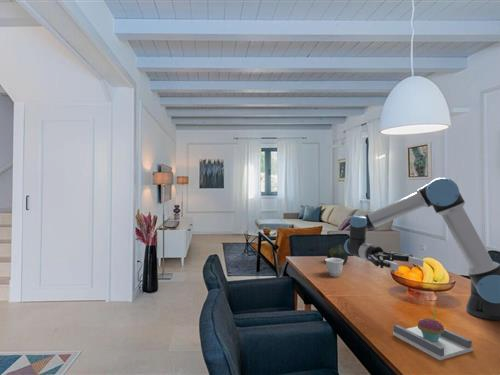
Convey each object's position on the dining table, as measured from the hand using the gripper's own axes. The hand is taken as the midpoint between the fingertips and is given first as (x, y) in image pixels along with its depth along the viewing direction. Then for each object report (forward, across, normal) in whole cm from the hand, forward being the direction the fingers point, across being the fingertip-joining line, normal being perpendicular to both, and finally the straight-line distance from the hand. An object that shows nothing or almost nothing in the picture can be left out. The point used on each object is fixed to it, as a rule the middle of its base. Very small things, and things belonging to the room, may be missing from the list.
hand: (410, 265), depth 130 cm
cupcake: (+11, +2, -24) cm, 27 cm away
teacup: (-78, -23, -30) cm, 86 cm away
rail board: (+11, +2, -26) cm, 28 cm away
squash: (-102, -44, -32) cm, 115 cm away
